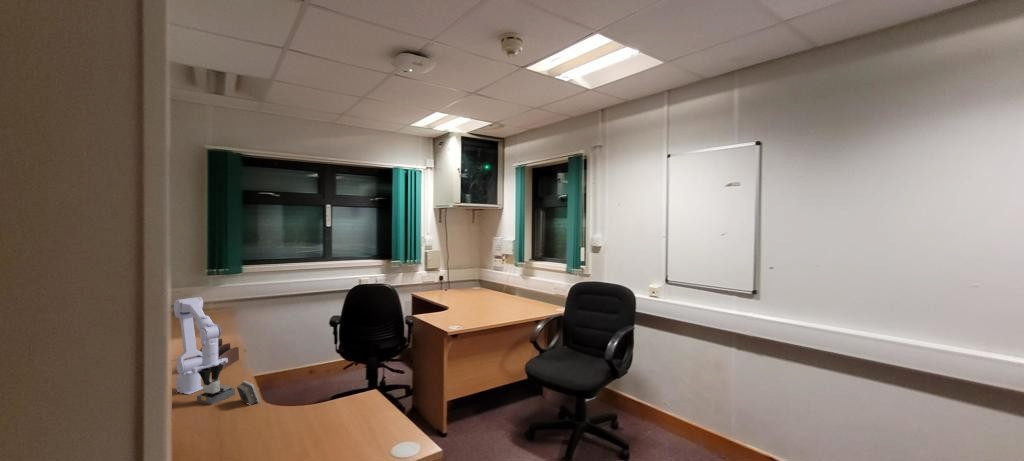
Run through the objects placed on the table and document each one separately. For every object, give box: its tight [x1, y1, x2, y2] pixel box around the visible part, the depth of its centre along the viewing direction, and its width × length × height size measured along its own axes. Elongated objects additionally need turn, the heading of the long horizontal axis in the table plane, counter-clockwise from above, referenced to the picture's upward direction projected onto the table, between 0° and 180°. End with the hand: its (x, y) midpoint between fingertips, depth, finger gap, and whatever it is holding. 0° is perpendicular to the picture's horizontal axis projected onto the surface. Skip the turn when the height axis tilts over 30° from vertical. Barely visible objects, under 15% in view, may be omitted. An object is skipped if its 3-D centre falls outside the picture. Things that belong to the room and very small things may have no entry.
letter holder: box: [199, 338, 240, 371], centre depth 222 cm, size 10×20×14 cm, turn 8°
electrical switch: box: [236, 380, 260, 406], centre depth 176 cm, size 9×5×9 cm, turn 57°
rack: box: [196, 383, 236, 406], centre depth 180 cm, size 9×11×4 cm
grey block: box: [202, 378, 221, 393], centre depth 177 cm, size 6×3×5 cm, turn 74°
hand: (210, 383), depth 177 cm, fingers closed on grey block, 3 cm apart
